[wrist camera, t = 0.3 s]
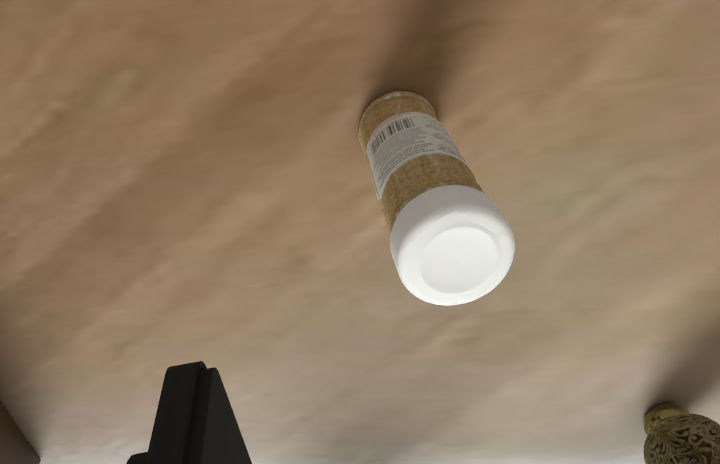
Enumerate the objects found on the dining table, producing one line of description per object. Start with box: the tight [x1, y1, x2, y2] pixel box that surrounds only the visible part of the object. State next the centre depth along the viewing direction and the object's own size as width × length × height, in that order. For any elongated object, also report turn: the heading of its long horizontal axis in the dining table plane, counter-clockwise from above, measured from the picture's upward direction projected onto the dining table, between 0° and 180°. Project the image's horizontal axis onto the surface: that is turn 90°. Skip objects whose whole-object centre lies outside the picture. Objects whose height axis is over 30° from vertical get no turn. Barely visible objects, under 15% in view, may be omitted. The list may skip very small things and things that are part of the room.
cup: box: [644, 403, 720, 464], centre depth 46 cm, size 8×7×8 cm
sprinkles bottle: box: [358, 91, 515, 305], centre depth 28 cm, size 5×5×13 cm
